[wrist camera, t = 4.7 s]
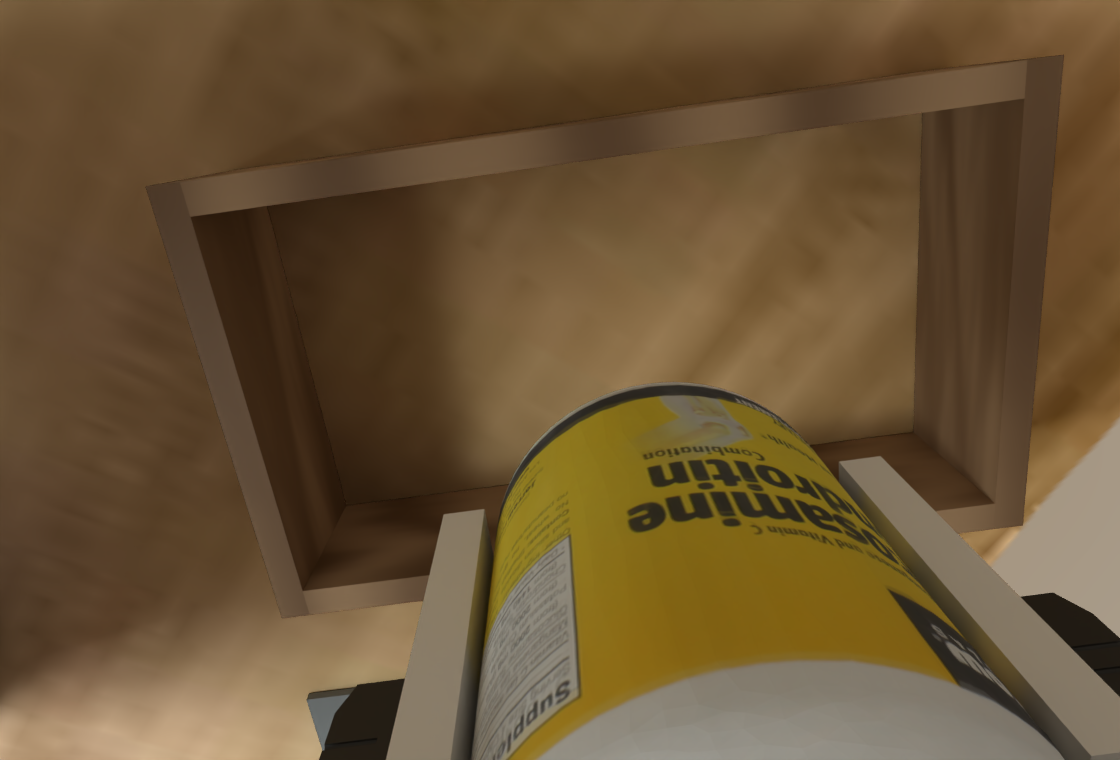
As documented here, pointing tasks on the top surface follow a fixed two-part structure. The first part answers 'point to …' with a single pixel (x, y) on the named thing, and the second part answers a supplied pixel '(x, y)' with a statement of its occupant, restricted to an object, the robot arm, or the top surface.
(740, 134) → the box frame
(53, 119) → the top surface
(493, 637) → the pill bottle
